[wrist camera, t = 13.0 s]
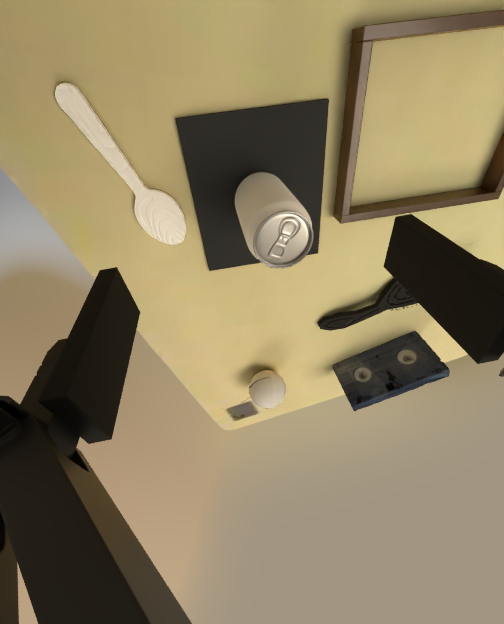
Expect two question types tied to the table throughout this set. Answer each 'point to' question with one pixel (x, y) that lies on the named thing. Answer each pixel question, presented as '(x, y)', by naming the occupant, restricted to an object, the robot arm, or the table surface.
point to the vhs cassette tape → (389, 370)
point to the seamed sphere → (267, 389)
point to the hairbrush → (371, 308)
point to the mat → (252, 168)
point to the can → (273, 221)
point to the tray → (499, 172)
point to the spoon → (125, 171)
